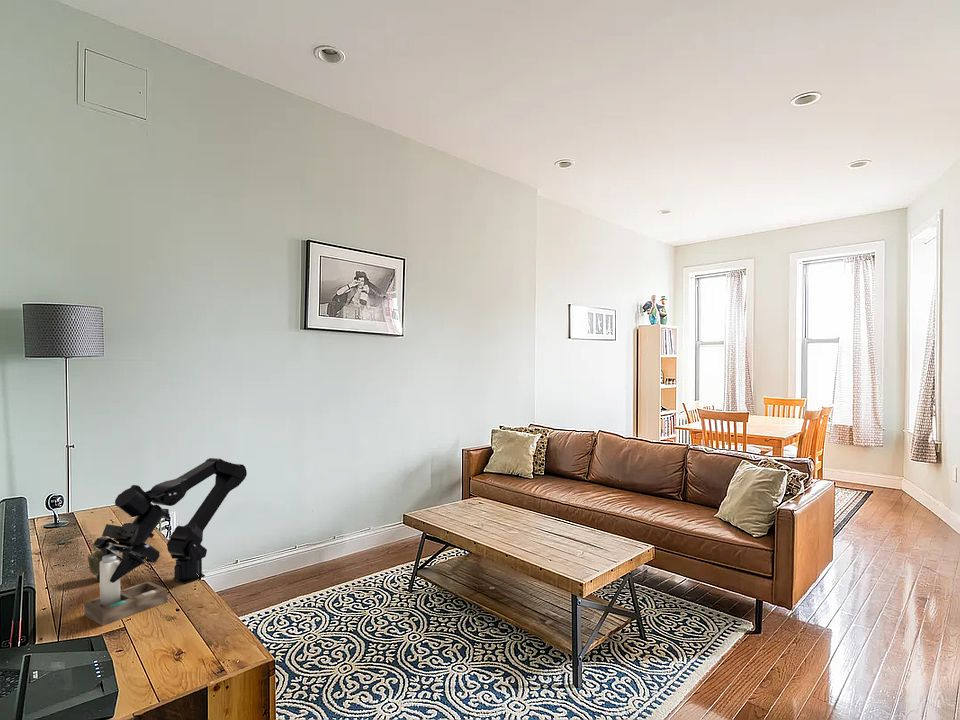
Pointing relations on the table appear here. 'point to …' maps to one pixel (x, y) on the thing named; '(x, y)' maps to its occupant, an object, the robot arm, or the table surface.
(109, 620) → the socket block
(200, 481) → the robot arm
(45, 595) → the table surface
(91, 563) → the cup
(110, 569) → the plug
